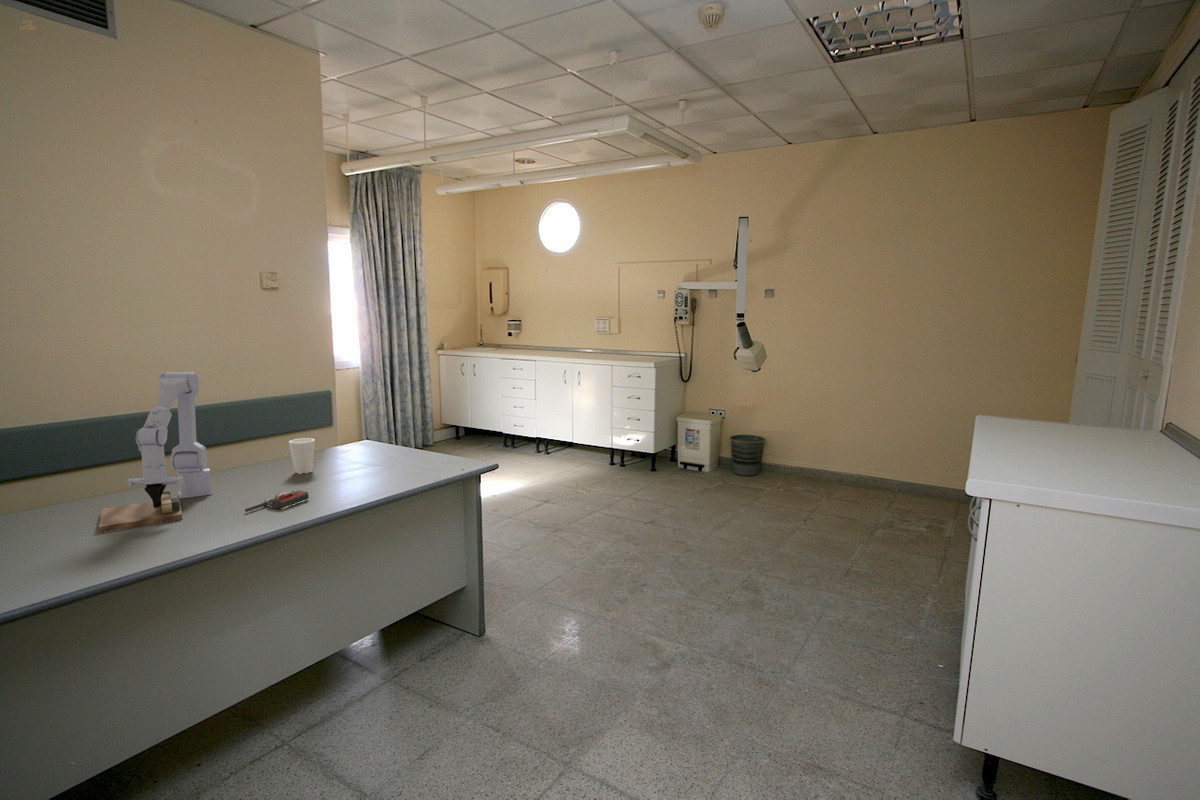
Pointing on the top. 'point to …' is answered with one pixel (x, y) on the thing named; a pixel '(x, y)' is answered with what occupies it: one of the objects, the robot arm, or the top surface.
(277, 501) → the walkie-talkie
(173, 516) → the stool seat
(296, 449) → the foam cup
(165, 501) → the folding leg
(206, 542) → the top surface
